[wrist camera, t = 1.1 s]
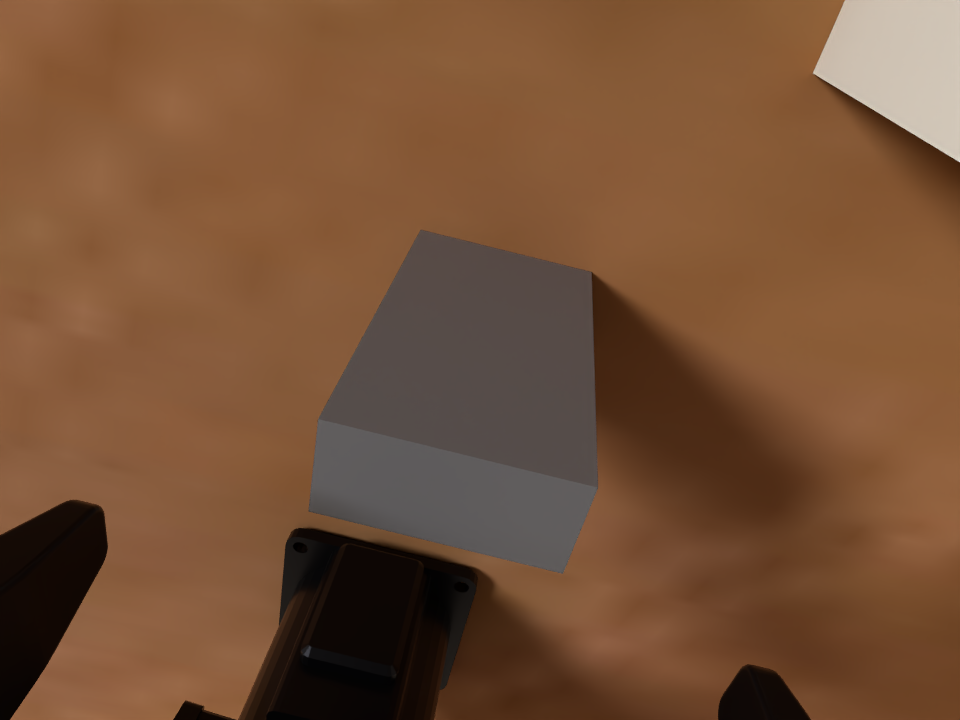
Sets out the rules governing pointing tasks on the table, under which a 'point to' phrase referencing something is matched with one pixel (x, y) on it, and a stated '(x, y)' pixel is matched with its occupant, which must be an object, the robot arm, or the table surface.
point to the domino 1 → (468, 407)
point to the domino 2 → (901, 64)
